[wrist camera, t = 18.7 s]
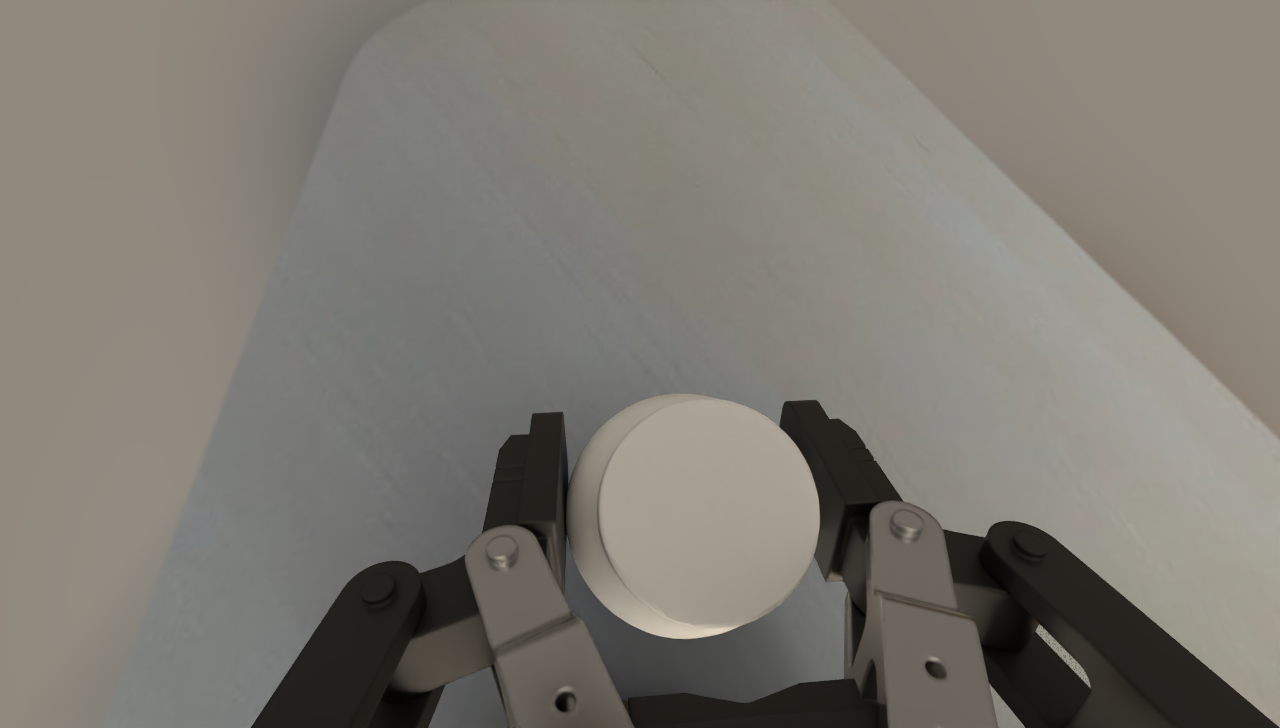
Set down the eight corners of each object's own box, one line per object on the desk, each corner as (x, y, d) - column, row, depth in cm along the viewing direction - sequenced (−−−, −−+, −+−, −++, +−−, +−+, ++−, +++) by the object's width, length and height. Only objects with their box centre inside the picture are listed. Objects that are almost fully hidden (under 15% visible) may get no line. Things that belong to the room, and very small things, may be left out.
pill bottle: (637, 630, 18) (671, 760, 9) (545, 492, 19) (487, 476, 10) (766, 527, 19) (919, 545, 10) (673, 402, 20) (732, 308, 11)
